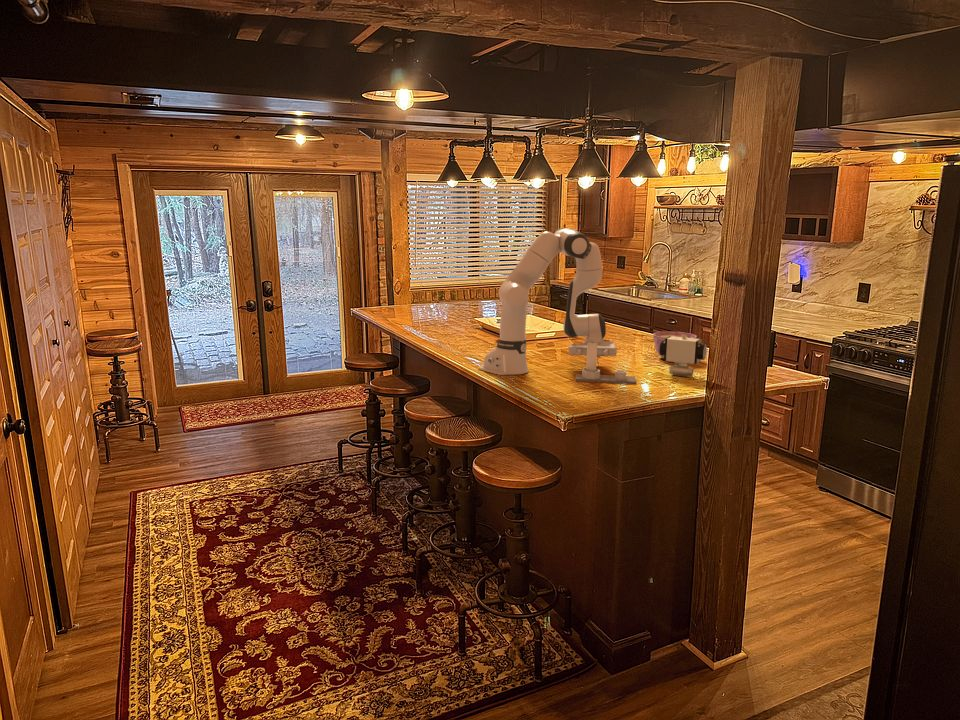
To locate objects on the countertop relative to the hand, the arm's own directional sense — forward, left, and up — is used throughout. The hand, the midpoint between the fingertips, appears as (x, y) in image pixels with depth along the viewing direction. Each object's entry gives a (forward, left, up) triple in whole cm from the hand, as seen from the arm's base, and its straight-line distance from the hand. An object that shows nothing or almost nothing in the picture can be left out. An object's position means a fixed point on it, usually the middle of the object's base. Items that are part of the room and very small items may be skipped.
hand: (592, 353), depth 277 cm
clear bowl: (+11, +58, -10) cm, 60 cm away
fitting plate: (+7, -1, -10) cm, 12 cm away
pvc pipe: (+2, -4, -9) cm, 10 cm away
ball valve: (+28, +27, -10) cm, 40 cm away
